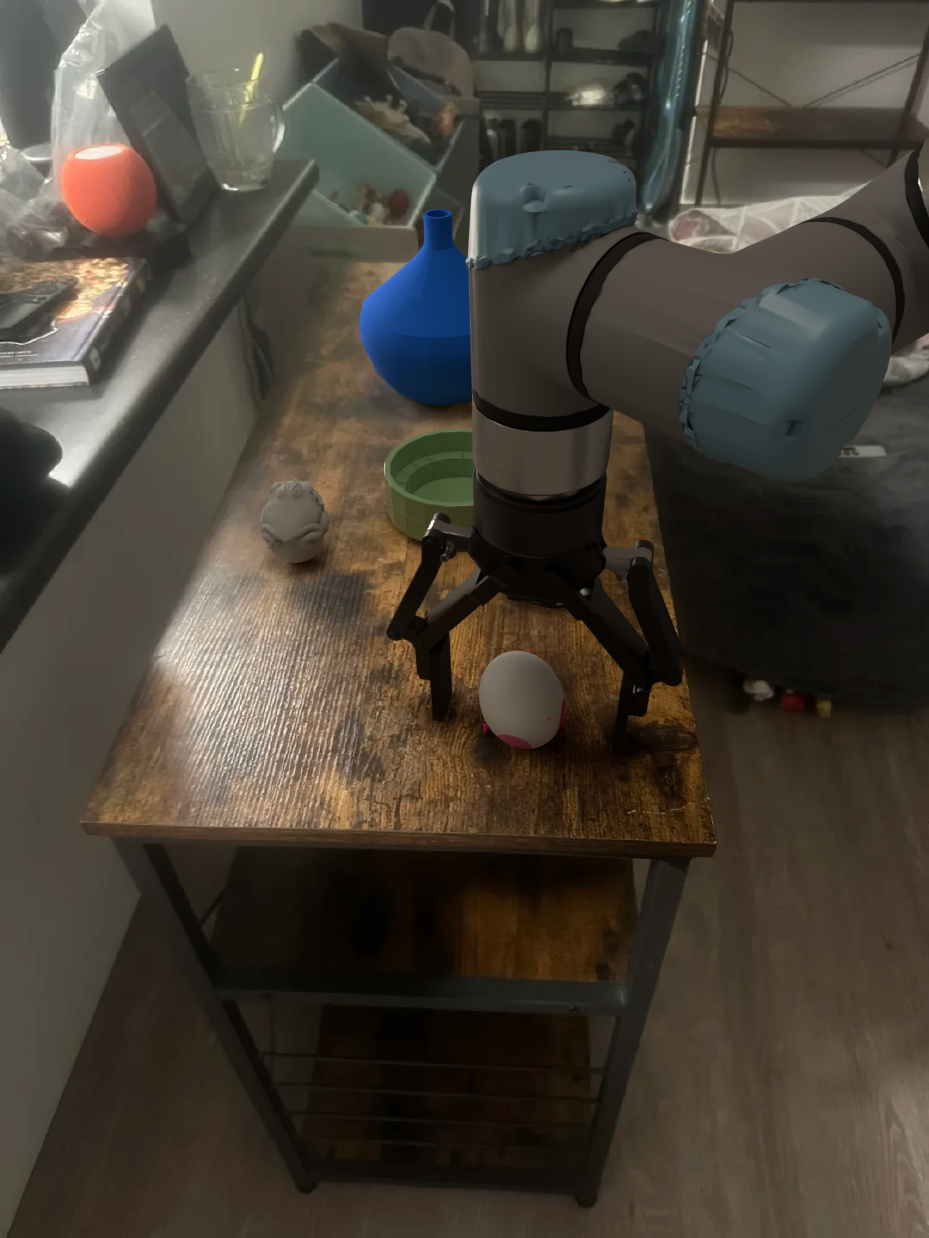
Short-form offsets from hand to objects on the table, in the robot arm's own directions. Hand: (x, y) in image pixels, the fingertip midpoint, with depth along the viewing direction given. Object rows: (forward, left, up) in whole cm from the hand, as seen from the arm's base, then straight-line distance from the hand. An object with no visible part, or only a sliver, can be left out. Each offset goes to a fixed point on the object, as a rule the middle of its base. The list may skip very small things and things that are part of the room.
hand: (529, 723), depth 63 cm
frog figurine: (+24, -15, 0) cm, 28 cm away
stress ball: (0, 0, 0) cm, 0 cm away
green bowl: (+12, -25, 0) cm, 28 cm away
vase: (+20, -49, 0) cm, 53 cm away
